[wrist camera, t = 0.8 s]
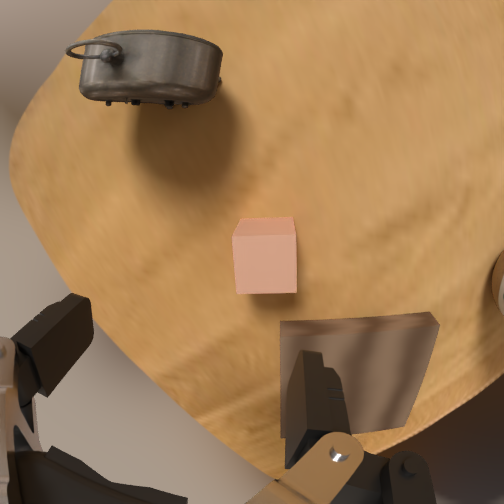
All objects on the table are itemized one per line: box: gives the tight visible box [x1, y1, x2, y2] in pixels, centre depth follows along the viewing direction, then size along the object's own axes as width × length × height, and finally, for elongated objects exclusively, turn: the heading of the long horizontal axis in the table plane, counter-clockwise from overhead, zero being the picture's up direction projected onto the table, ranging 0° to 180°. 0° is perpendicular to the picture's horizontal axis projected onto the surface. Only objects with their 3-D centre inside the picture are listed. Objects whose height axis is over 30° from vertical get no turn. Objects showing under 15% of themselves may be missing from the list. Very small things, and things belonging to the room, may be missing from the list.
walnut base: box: [280, 312, 440, 438], centre depth 34 cm, size 18×18×3 cm
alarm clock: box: [65, 30, 223, 109], centre depth 18 cm, size 11×5×16 cm, turn 81°
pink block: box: [232, 217, 297, 294], centre depth 27 cm, size 5×5×6 cm
